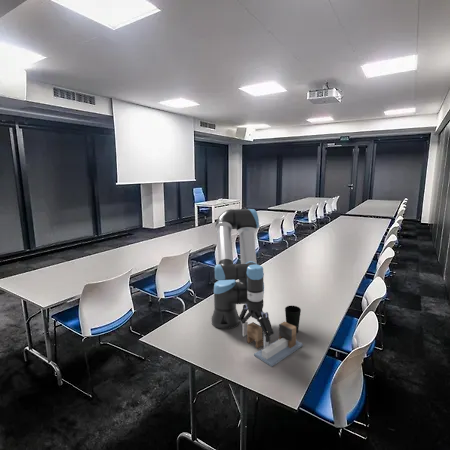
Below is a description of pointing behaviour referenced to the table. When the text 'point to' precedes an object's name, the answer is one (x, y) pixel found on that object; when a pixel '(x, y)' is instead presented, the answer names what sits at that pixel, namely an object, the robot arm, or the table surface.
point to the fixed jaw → (288, 333)
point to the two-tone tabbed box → (255, 334)
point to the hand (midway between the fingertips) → (255, 341)
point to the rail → (279, 355)
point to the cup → (293, 316)
